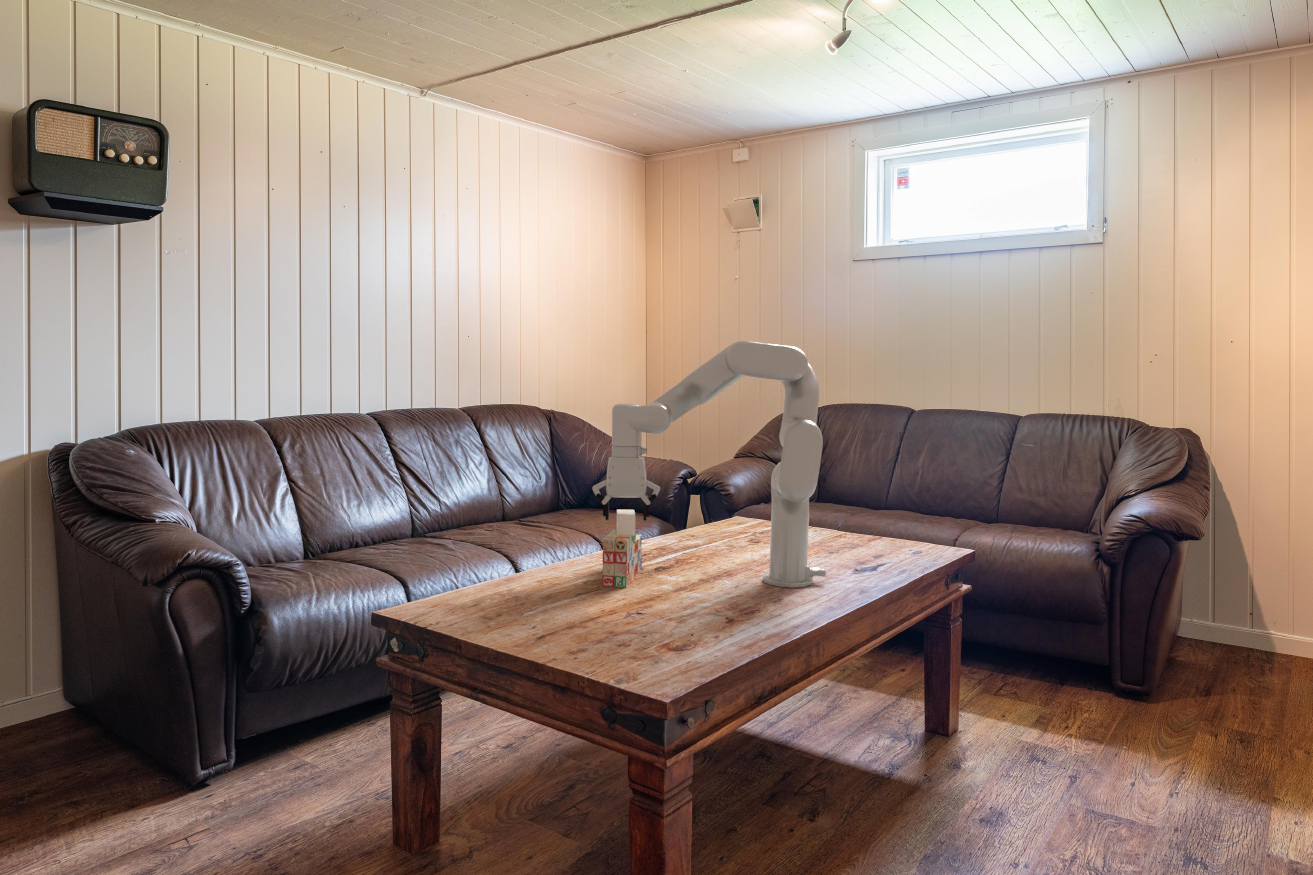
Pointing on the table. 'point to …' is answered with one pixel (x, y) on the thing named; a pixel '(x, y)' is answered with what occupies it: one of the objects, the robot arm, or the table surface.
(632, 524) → the cream bar block
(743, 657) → the table surface
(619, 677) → the table surface
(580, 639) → the table surface
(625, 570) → the stack of blocks
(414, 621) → the table surface
